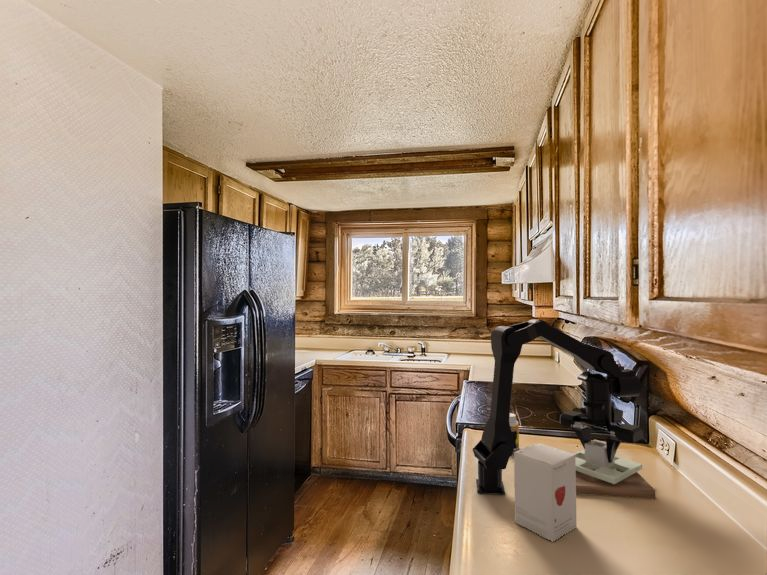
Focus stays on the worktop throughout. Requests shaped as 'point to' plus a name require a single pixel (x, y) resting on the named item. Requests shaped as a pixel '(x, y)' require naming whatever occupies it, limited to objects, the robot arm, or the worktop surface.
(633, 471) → the flange plate
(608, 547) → the worktop surface
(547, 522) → the supplement box
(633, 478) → the walnut board
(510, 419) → the supplement bottle
